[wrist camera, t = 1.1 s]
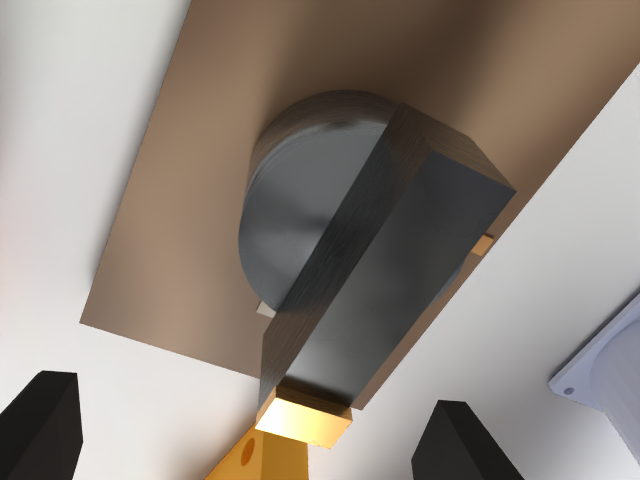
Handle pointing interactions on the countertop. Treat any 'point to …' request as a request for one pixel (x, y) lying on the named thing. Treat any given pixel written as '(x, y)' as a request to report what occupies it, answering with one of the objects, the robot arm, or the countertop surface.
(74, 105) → the countertop surface
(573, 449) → the countertop surface
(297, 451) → the pipe clamp
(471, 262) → the base plate
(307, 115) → the twist cap
